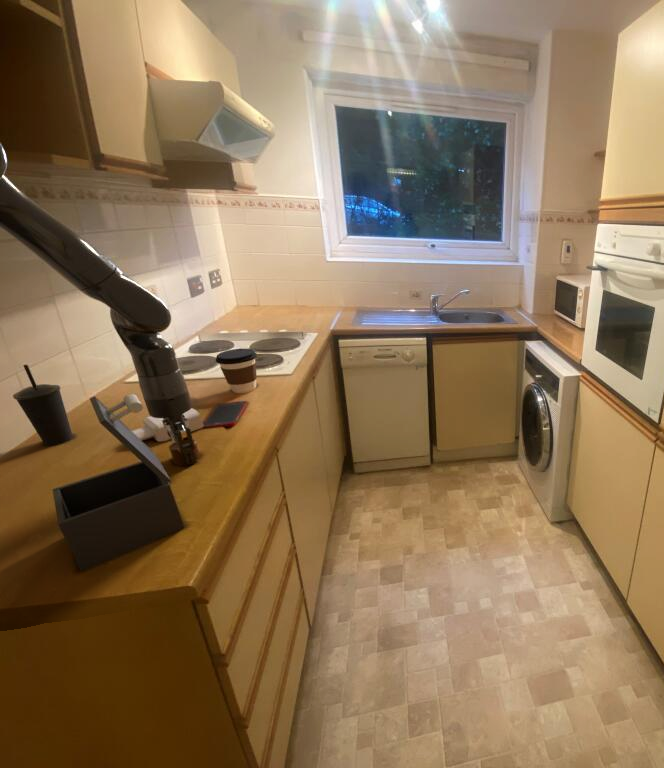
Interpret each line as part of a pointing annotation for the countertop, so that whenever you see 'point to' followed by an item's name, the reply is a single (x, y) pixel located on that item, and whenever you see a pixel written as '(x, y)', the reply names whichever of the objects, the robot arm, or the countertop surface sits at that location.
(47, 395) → the drinking cup
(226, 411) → the cell phone
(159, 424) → the charger
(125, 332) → the robot arm
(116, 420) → the lid
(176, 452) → the coffee pod
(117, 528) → the open grey storage box
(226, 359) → the coffee cup
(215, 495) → the countertop surface
